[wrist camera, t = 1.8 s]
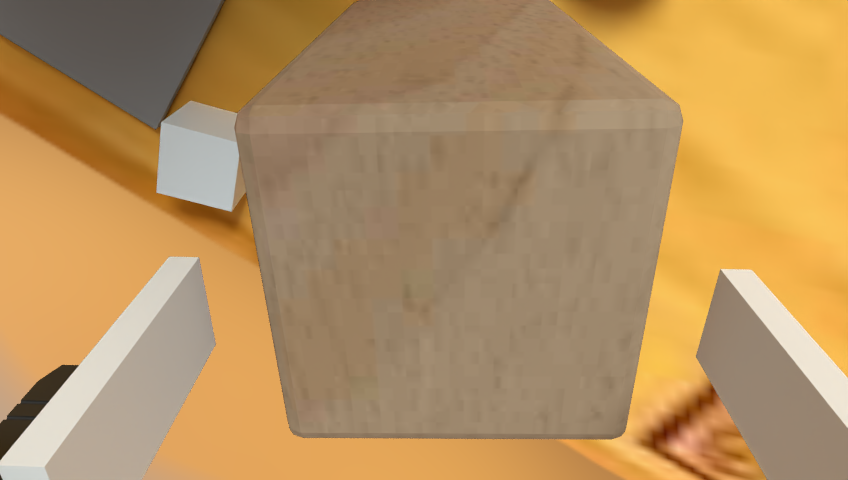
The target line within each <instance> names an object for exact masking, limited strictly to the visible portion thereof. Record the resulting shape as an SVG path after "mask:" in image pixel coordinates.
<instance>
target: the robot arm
mask: <svg viewBox="0 0 848 480" xmlns="http://www.w3.org/2000/svg"><path fill="white" fill-rule="evenodd" d="M215 345H216V343H215V338H214V333H213V327H212V323H211V317H210V312H209V306H208V301H207V296H206V291H205V286H204V281H203V276H202V270H201V266H200V260H199V257H169V258H168V259H167V260H166V261H165V262H164V264H163V265H162V266H161V267H160V269H159V270H158V271H157V272H156V273H155V275H154V276H153V277H152V278H151V279H150V280H149V282H148V283H147V284H146V285H145V287H144V288H143V289H142V290H141V291H140V293H139V294H138V295H137V296H136V297H135V299H134V300H133V301H132V302H131V303H130V305H129V306H128V307H127V308H126V309H125V311H124V312H123V313H122V314H121V315H120V317H119V318H118V319H117V320H116V321H115V323H114V324H113V325H112V326H111V328H110V329H109V330H108V331H107V332H106V334H105V335H104V336H103V337H102V338H101V340H100V341H99V342H98V343H97V344H96V346H95V347H94V348H93V349H92V351H91V352H90V353H89V354H88V355H87V356H86V358H85V359H84V360H83V361H82V362H81V364H80V365H61V366H60V367H59V368H57V369H56V370H54V371H52V372H51V373H49V374H48V375H46V376H45V377H43V378H42V379H40V380H39V381H38V382H37V383H36V384H35V385H34V386H33V387H32V388H31V390H30V391H29V392H28V393H27V394H26V395H25V396H24V398H22V400H21V403H20V404H17V405H16V406H15V407H14V409H13V410H12V411H11V412H10V413H9V415H8V416H7V419H6V420H3V421H2V422H1V423H0V480H142V479H143V477H144V475H145V473H146V471H147V469H148V467H149V466H150V464H151V462H152V460H153V458H154V456H155V455H156V453H157V451H158V449H159V447H160V446H161V444H162V442H163V440H164V438H165V436H166V435H167V433H168V431H169V429H170V427H171V425H172V424H173V422H174V420H175V418H176V416H177V414H178V413H179V411H180V409H181V407H182V405H183V403H184V402H185V400H186V398H187V396H188V394H189V392H190V391H191V389H192V387H193V385H194V383H195V381H196V380H197V378H198V376H199V374H200V372H201V370H202V369H203V367H204V365H205V363H206V361H207V359H208V358H209V356H210V354H211V351H212V350H213V348H214V347H215ZM696 358H697V359H698V361H699V363H700V365H701V366H702V368H703V370H704V371H705V373H706V375H707V377H708V378H709V380H710V382H711V383H712V385H713V387H714V389H715V390H716V392H717V394H718V396H719V397H720V399H721V401H722V402H723V404H724V406H725V408H726V409H727V411H728V413H729V414H730V416H731V418H732V420H733V421H734V423H735V425H736V426H737V428H738V430H739V432H740V433H741V435H742V437H743V439H744V440H745V442H746V444H747V445H748V447H749V449H750V451H751V452H752V454H753V456H754V457H755V459H756V461H757V463H758V464H759V466H760V468H761V469H762V471H763V473H764V475H765V476H766V478H767V480H848V378H847V377H846V376H845V374H844V373H843V372H842V371H841V370H840V369H839V368H838V367H837V365H836V364H835V363H834V362H833V361H832V360H831V359H830V358H829V356H828V355H827V354H826V353H825V352H824V351H823V350H822V349H821V347H820V346H819V345H818V344H817V343H816V342H815V341H814V340H813V338H812V337H811V336H810V335H809V334H808V333H807V332H806V331H805V329H804V328H803V327H802V326H801V325H800V324H799V323H798V322H797V320H796V319H795V318H794V317H793V316H792V315H791V314H790V313H789V311H788V310H787V309H786V308H785V307H784V306H783V305H782V304H781V302H780V301H779V300H778V299H777V298H776V297H775V296H774V295H773V293H772V292H771V291H770V290H769V289H768V288H767V287H766V286H765V284H764V283H763V282H762V281H761V280H760V279H759V278H758V277H757V275H756V274H755V273H754V272H753V271H752V270H736V269H720V273H719V276H718V280H717V283H716V287H715V290H714V294H713V298H712V301H711V305H710V308H709V312H708V315H707V319H706V323H705V326H704V330H703V333H702V337H701V340H700V344H699V348H698V351H697V355H696Z"/></svg>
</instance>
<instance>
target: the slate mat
mask: <svg viewBox="0 0 848 480" xmlns="http://www.w3.org/2000/svg"><path fill="white" fill-rule="evenodd" d="M224 1H225V0H0V35H2V36H4V37H5V38H7V39H9V40H10V41H12V42H13V43H15V44H17V45H18V46H20V47H22V48H23V49H25V50H27V51H28V52H30V53H31V54H33V55H35V56H36V57H38V58H40V59H41V60H43V61H44V62H46V63H48V64H49V65H51V66H53V67H54V68H56V69H58V70H59V71H61V72H62V73H64V74H66V75H67V76H69V77H71V78H72V79H74V80H75V81H77V82H79V83H80V84H82V85H84V86H85V87H87V88H89V89H90V90H92V91H93V92H95V93H97V94H98V95H100V96H102V97H103V98H105V99H106V100H108V101H110V102H111V103H113V104H115V105H116V106H118V107H120V108H121V109H123V110H124V111H126V112H128V113H129V114H131V115H133V116H134V117H136V118H137V119H139V120H141V121H142V122H144V123H146V124H147V125H149V126H151V127H152V128H154V129H155V130H156V129H157V128H159V127H160V126H161V122H162V121H163V120H164V118H165V116H166V114H167V112H168V110H169V108H170V106H171V104H172V102H173V100H174V99H175V97H176V95H177V93H178V91H179V89H180V87H181V85H182V83H183V81H184V79H185V77H186V75H187V73H188V71H189V69H190V67H191V65H192V63H193V61H194V59H195V57H196V56H197V54H198V52H199V50H200V48H201V46H202V44H203V42H204V40H205V38H206V36H207V34H208V32H209V30H210V28H211V26H212V24H213V22H214V20H215V18H216V16H217V14H218V13H219V11H220V9H221V7H222V5H223V3H224Z"/></svg>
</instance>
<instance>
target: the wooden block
mask: <svg viewBox="0 0 848 480" xmlns="http://www.w3.org/2000/svg"><path fill="white" fill-rule="evenodd" d="M682 124H683V118H682V114H681V110H680V106H679V104H677V103H676V102H675V101H674V100H672V99H671V98H670V97H669V96H667V95H666V94H665V93H664V92H663V91H661V90H660V89H659V88H658V87H656V86H655V85H654V84H653V83H651V82H650V81H649V80H648V79H646V78H645V77H644V76H643V75H641V74H640V73H639V72H638V71H636V70H635V69H634V68H633V67H631V66H630V65H629V64H628V63H627V62H625V61H624V60H623V59H622V58H620V57H619V56H618V55H617V54H615V53H614V52H613V51H612V50H610V49H609V48H608V47H607V46H605V45H604V44H603V43H602V42H600V41H599V40H598V39H597V38H595V37H594V36H593V35H592V34H590V33H589V32H588V31H587V30H586V29H584V28H583V27H582V26H581V25H579V24H578V23H577V22H576V21H574V20H573V19H572V18H571V17H569V16H568V15H567V14H566V13H564V12H563V11H562V10H561V9H559V8H558V7H557V6H556V5H554V4H553V3H552V2H551V1H550V0H359V1H357V2H355V3H353V4H352V5H351V6H350V7H349V8H348V9H347V10H345V11H344V12H343V13H342V14H341V15H340V16H339V17H338V18H337V19H336V20H335V21H334V22H333V23H332V24H331V25H330V26H329V27H327V28H326V29H325V30H324V31H323V32H322V33H321V34H320V35H319V36H318V37H317V38H316V39H315V40H314V41H313V42H312V43H311V44H309V45H308V46H307V47H306V48H305V49H304V50H303V51H302V52H301V53H300V54H299V55H298V56H297V57H296V58H295V59H294V60H293V61H291V62H290V63H289V64H288V65H287V66H286V67H285V68H284V69H283V70H282V71H281V72H280V73H279V74H278V75H277V76H276V77H275V78H274V79H272V80H271V81H270V82H269V83H268V84H267V85H266V86H265V87H264V88H263V89H262V90H261V91H260V92H259V93H258V94H257V95H256V96H254V97H253V98H252V99H251V100H250V101H249V102H248V103H247V104H246V105H245V106H244V107H243V108H242V109H241V110H240V111H239V112H238V114H237V118H236V122H235V126H234V129H235V135H236V140H237V146H238V151H239V157H240V162H241V168H242V173H243V179H244V184H245V190H246V195H247V200H248V206H249V211H250V217H251V222H252V228H253V233H254V239H255V244H256V250H257V255H258V261H259V266H260V272H261V277H262V283H263V287H264V293H265V299H266V304H267V310H268V315H269V321H270V326H271V331H272V337H273V343H274V348H275V353H276V359H277V365H278V369H279V376H280V381H281V385H282V392H283V397H284V403H285V408H286V414H287V419H288V424H289V428H290V430H291V431H292V433H293V434H294V435H297V436H300V437H303V438H445V439H447V438H449V439H453V438H454V439H460V438H461V439H614V438H617V437H620V436H622V434H623V433H624V432H625V430H626V425H627V420H628V414H629V409H630V404H631V398H632V393H633V388H634V382H635V377H636V371H637V366H638V361H639V355H640V350H641V345H642V339H643V334H644V329H645V323H646V318H647V312H648V307H649V302H650V296H651V291H652V286H653V280H654V275H655V269H656V264H657V259H658V253H659V248H660V243H661V237H662V232H663V226H664V221H665V216H666V210H667V205H668V200H669V194H670V189H671V184H672V178H673V173H674V167H675V162H676V157H677V151H678V146H679V141H680V135H681V130H682Z"/></svg>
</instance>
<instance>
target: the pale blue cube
mask: <svg viewBox="0 0 848 480" xmlns="http://www.w3.org/2000/svg"><path fill="white" fill-rule="evenodd" d="M237 114H238V113H234V112H231V111H227V110H224V109H220V108H216V107H213V106H209V105H205V104H202V103H198V102H194V101H189V102H188V103H186V104H185V105H184V106H182V107H181V108H180V109H178V110H177V111H176V112H174V113H173V114H171V115H170V116H169V117H167V118H166V119H165V120H163V121H162V122H161V132H160V147H159V162H158V177H157V192H156V193H160V194H164V195H168V196H172V197H176V198H180V199H184V200H188V201H191V202H195V203H199V204H203V205H207V206H211V207H215V208H219V209H223V210H227V211H231V212H232V211H233V209H234V208H235V206H236V205H237V204H238V202H239V201H240V199H241V198H242V197H243V195H244V194H245V192H246V190H245V184H244V179H243V173H242V168H241V162H240V157H239V151H238V146H237V140H236V135H235V129H234V126H235V122H236V118H237Z"/></svg>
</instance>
